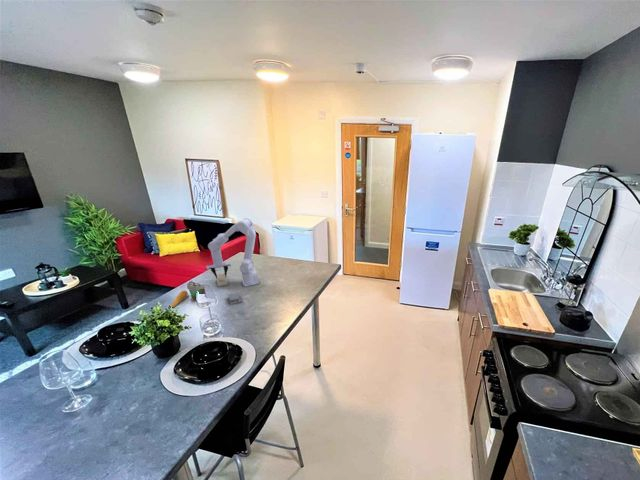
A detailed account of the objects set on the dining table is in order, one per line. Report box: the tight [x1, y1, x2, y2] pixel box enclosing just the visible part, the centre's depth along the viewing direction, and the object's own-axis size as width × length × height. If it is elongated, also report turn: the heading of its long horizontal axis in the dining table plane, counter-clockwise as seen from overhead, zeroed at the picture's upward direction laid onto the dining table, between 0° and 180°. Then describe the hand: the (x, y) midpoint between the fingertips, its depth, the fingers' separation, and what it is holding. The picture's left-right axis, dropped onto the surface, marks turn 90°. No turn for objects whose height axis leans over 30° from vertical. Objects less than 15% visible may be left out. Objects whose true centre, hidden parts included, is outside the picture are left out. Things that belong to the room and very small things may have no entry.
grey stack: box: [227, 292, 242, 305], centre depth 175 cm, size 6×9×3 cm, turn 30°
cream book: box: [216, 271, 227, 281], centre depth 194 cm, size 5×8×2 cm, turn 30°
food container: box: [186, 280, 207, 302], centre depth 174 cm, size 12×6×10 cm, turn 62°
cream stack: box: [216, 278, 229, 287], centre depth 196 cm, size 6×9×3 cm, turn 30°
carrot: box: [170, 290, 189, 308], centre depth 170 cm, size 20×4×4 cm, turn 3°
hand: (221, 277), depth 195 cm, fingers closed on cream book, 5 cm apart
